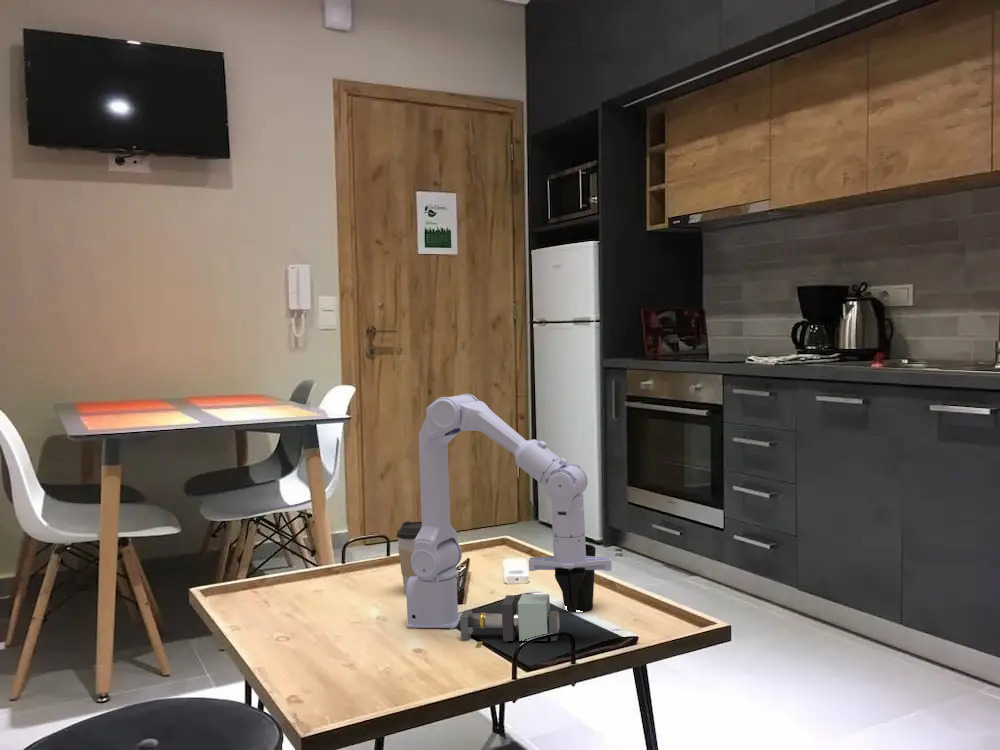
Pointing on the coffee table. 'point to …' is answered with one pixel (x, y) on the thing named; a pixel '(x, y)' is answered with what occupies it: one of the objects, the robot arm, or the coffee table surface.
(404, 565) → the coffee cup
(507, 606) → the dark grey flat block
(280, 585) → the coffee table surface
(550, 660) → the coffee table surface
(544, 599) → the sleeve
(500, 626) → the grey shaft
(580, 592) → the cup
